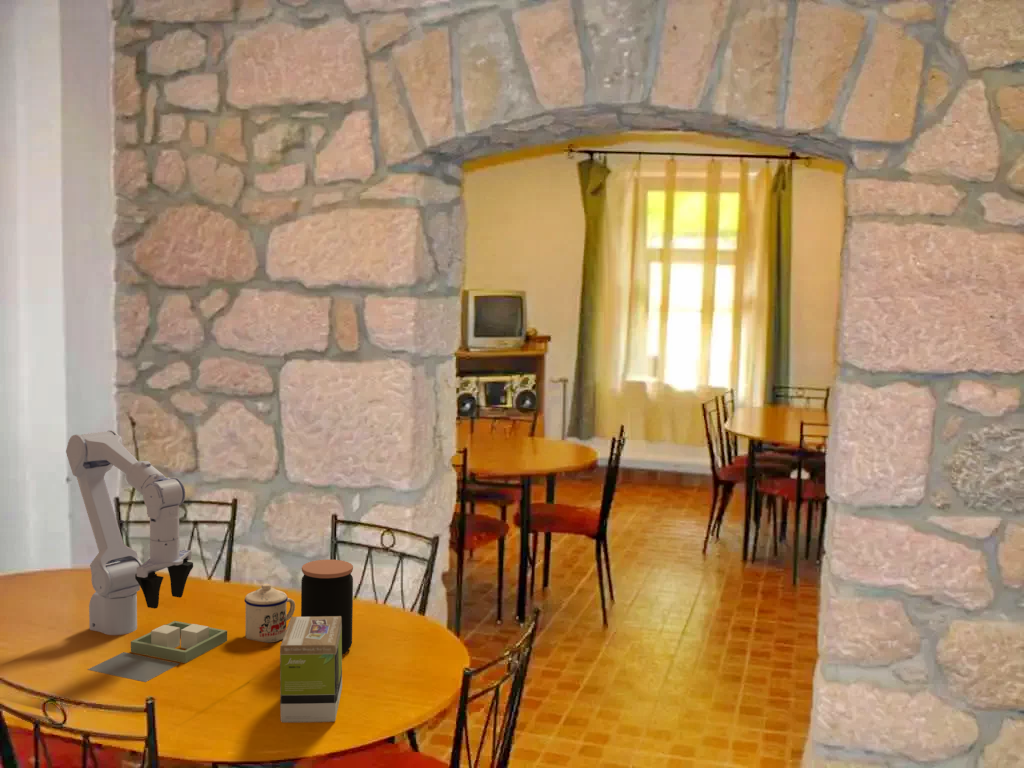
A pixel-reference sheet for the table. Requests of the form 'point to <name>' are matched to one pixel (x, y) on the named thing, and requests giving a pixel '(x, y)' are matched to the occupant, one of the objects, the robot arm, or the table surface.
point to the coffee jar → (329, 593)
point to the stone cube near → (166, 636)
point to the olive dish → (184, 656)
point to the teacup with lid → (267, 614)
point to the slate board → (134, 666)
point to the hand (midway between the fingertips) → (165, 601)
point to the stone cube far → (193, 635)
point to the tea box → (311, 669)
